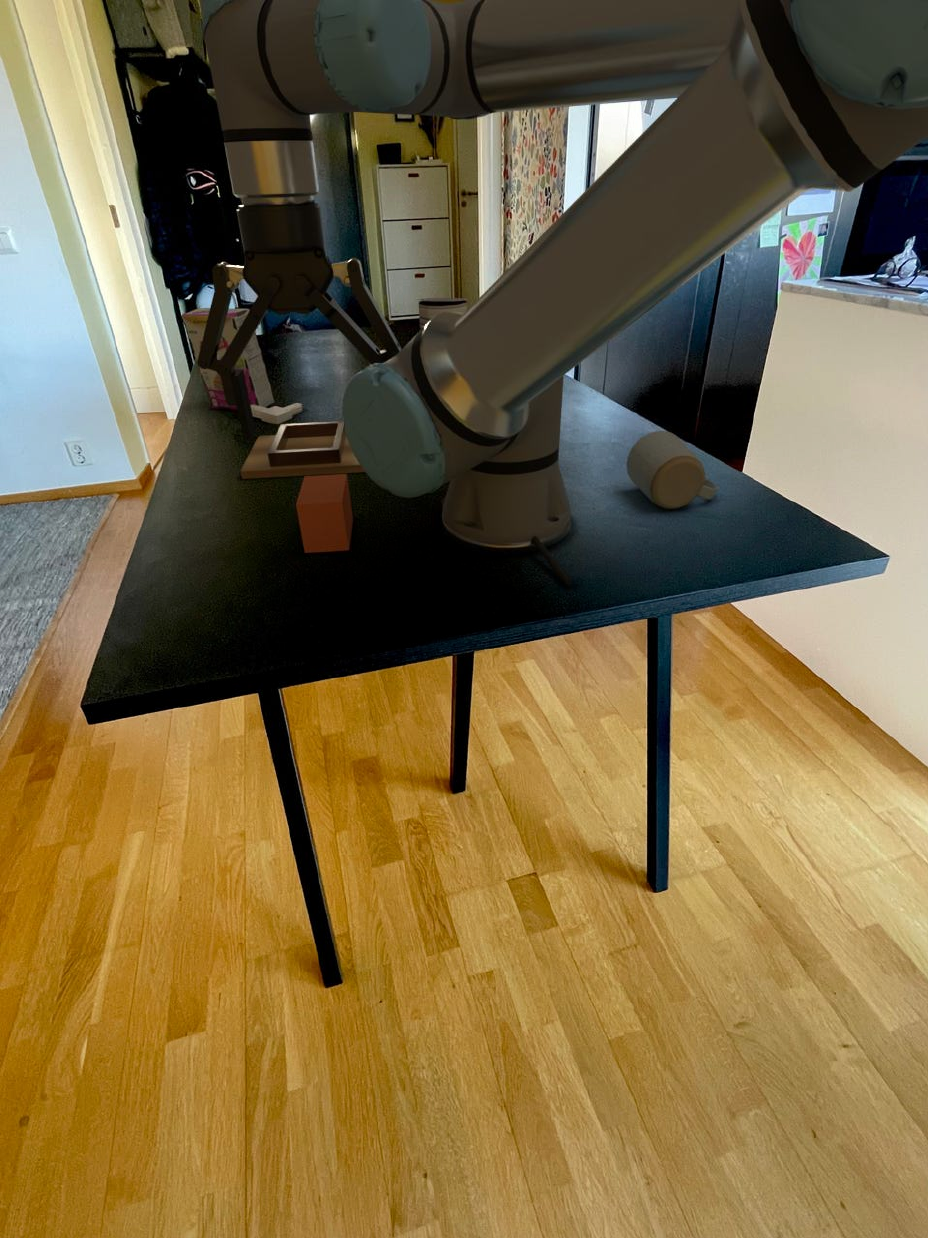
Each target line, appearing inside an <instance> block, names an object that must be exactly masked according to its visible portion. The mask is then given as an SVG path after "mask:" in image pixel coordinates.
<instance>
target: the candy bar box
mask: <svg viewBox="0 0 928 1238" xmlns="http://www.w3.org/2000/svg"><path fill="white" fill-rule="evenodd" d="M249 310H250V308H229V309H228V313H227V317H226V321H225V325H224V329H223V333H222V336H221V340H220V344H219V348H218V352H217V355H218V356H222V357H223V356H224V354H225V352H226V351H227V349H228V347H229V345H230V344H231V342H232V340H233V339H234V337H235V335H236V333H237V332H238V330H239V328H240V327H241V325H242V323H243V321H244V320H245V318H246V316H247V315H248V313H249ZM209 311H210V307H198V308H196V309H193V310H190V311H188V312H185V313H184V314H182V315H181V319H182V322H183V325H184V328H185V331H186V334H187V336H188V340H189V342H190V346H191V348H192V351H193V355H194V357H195V360H196V362H197V361H198V356H199V352H200V348H201V344H202V340H203V336H204V332H205V328H206V323H207V319H208V315H209ZM197 366H198V369H199V372H200V375H201V378H202V381H203V384H204V386H205V390H206V393H207V396H208V399H209V402H210V404H211V408H212V409H218V410H219V409H222V410H235V411H238V410H237V406H229V405H228V404H227V402H226V400H225V395H224V391H223V386H222V382H221V378H220V375H219V374H218V373H217V372H216V371H213V370H210V369H202V368H200V367H199V365H198V364H197ZM234 369H235V370H236V369H243V371H244V376H245V380H246V385H247V390H248V395H249V400H250V405H257V406H261V407H265V408H269V407H270V406H272V405H273V404H275V397H274V394H273V389H272V386H271V383H270V380H269V377H268V376H269V375H268V373H267V369H266V365H265V361H264V357H263V353H262V350H261V347H260V343H259V339H258V336H257V332H256V331H255V333H254V334H253V336H252V338H251V339H250V341H249V343H248V344H247V346H246V348H245V349H244V351H243V353H242V354H241V356H240V358H239V359H238V361H237V363H236V365H235V366H234Z"/></svg>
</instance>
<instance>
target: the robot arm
mask: <svg viewBox="0 0 928 1238" xmlns="http://www.w3.org/2000/svg"><path fill="white" fill-rule="evenodd" d="M199 7H200V15H201V23H202V25H201V28H202V30H201V36H202V40H203V41H204V44H205V47H206V53H207V59H208V64H209V69H210V74H211V79H212V85H213V89H214V94H215V100H216V105H217V110H218V114H219V115H218V116H219V121H220V126H221V131H222V135H223V136H222V137H223V139H224V149H225V154H226V155H225V156H226V160H227V167H228V171H229V178H230V183H231V189H232V194H233V195H234V196H235V197H236V198H239V199H240V201H241V204H240V205H238V206H237V207H238V209H236V214H237V221H238V225H239V231H240V236H241V237H240V238H241V243H242V247H243V254H244V264H243V265H233V264H229V262H226V261H221V262H219V263H217V264H215V265H214V266H213V267H212V270H211V271H212V272H211V273H212V281H213V282H212V283H213V295H212V299H211V303H210V307H209V308H210V311H209V315H208V319H207V323H206V328H205V332H204V336H203V340H202V344H201V348H200V352H199V356H198V361H197V360H196V363H197V366H198V365H199V366H198V368H199V367H200V368H202V369H210V370H213V371H216V372H217V373H218V374H219V375H220V378H221V382H222V386H223V391H224V395H225V400H226V402H227V404H228V405H229V406H237V410H236V411H237V414H238V420H239V424H240V428H241V434H242V437H243V440H252V438H253V436H254V434H255V433H256V426H255V420H254V416H253V415H252V410H251V405H250V400H249V395H248V390H247V385H246V380H245V376H244V371H243V369H236V370H235V369H234V366H235V365H236V363H237V361H238V359H239V358H240V356H241V354H242V353H243V351H244V349H245V348H246V346H247V344H248V343H249V341H250V339H251V338H252V336H253V334H254V333H255V332H256V331H257V329H258V328H259V326H260V324H261V323H262V321H263V319H264V318H265V316H266V315H267V313H268V312H269V311H271V312H273V313H274V314H277V316H282V315H283V316H285V315H289V314H292V313H296V314H300V315H310V314H311V313H313V312H314V311H316V310H318V311H319V313H321V314H322V315H323V317H325V318H326V319H328V320H329V322H331V324H332V325H333V326H335V328H336V329H338V331H339V332H340V334H342V335H343V336H344V338H346V339H347V340H348V341H349V343H351V345H352V346H353V347H354V348H355V349H356V350H357V351H358V352H359V353H360V354H361V355H362V357H364V359H365V360H366V361H367V362H369V363H367V364H366V366H365V368H364V369H362V370H360V371H358V372H357V373H355V374H354V375H353V376H352V377H351V378H350V380H349V382H348V383H347V385H346V387H345V390H344V393H343V397H342V406H341V407H342V408H341V409H342V410H341V414H342V418H343V421H344V422H345V432H346V436H347V439H348V442H349V444H350V447H351V449H352V451H353V453H354V455H355V457H356V459H357V461H358V462H359V464H360V465H361V467H362V468H363V470H364V471H365V472H364V473H366V475H367V476H368V477H369V478H370V479H371V481H373V482H374V483H375V484H376V485H377V486H378V487H380V488H381V489H383V490H384V491H389V492H390V494H392V495H394V496H396V497H400V498H406V499H412V498H418V497H420V496H423V495H425V494H431V493H434V492H436V491H437V490H438V489H440V488H441V487H442V486H443V485H445V484H447V483H448V482H449V485H448V487H447V488H448V489H447V492H446V495H445V496H444V497H443V498H442V499H441V509H442V513H441V522H442V530H443V532H444V534H445V535H446V537H447V538H448V539H450V540H451V541H452V542H454V543H456V544H457V545H459V546H461V547H464V548H466V549H469V550H473V551H477V552H481V553H488V554H496V555H497V554H499V555H512V554H515V555H516V554H525V553H531V552H536V551H539V552H540V554H541V555H542V556H543V558H544V559H545V561H546V562H547V563H548V564H549V566H550V568H551V569H552V570H553V571H554V572H555V574H556V575H557V576H558V578H559V579H560V580H561V581H562V582H563V583H564V584H565V585H566V586H570V585H572V584H573V579H572V578H571V577H570V576H569V575H568V574H567V573H566V572H565V571H564V570H563V569H562V567H561V566H560V565H559V563H558V562H557V560H556V559H555V558H554V557H553V555H552V554H551V552H550V551H549V550H548V549H547V548H549V547H551V546H553V545H555V544H557V543H559V542H560V541H562V540H563V539H564V538H565V537H566V536H567V535H568V534H569V532H570V529H571V520H572V514H571V505H570V501H569V497H568V493H567V490H566V486H565V483H564V480H563V475H562V473H561V469H560V468H561V467H560V464H559V457H560V456H559V455H560V443H561V441H560V440H561V424H562V409H563V393H564V392H563V391H564V377H565V375H566V374H567V373H569V372H570V371H571V370H573V369H574V368H576V367H577V366H578V365H579V364H581V363H582V362H583V361H584V360H586V359H587V358H589V357H590V356H591V355H592V354H593V353H595V352H596V351H598V350H599V349H600V348H601V347H603V346H604V345H606V344H607V343H608V342H610V341H612V339H614V338H615V337H616V336H617V335H619V334H620V333H621V332H623V331H624V330H626V329H627V328H628V327H630V326H631V325H632V324H633V323H635V322H636V321H638V320H639V319H640V318H642V317H643V316H644V315H645V314H646V313H649V311H651V310H652V309H653V308H654V307H655V306H658V304H660V303H661V302H662V301H664V300H665V299H667V298H668V297H669V296H670V295H671V294H673V293H674V292H676V291H677V290H679V288H681V287H682V286H683V285H685V284H686V283H688V282H689V281H690V280H691V279H692V278H695V276H696V275H698V274H699V273H700V272H702V271H703V270H704V269H706V268H707V267H708V266H710V265H711V264H712V263H714V262H715V261H716V260H717V259H719V258H720V257H721V256H723V255H724V254H725V253H727V252H728V251H729V250H730V249H732V248H733V247H734V246H736V245H737V244H738V243H740V242H741V241H743V240H744V239H745V238H747V237H748V236H749V235H750V234H752V233H753V232H755V230H757V229H758V228H759V227H761V226H762V225H764V224H765V223H766V222H767V221H769V220H770V219H772V218H773V217H774V216H776V215H777V214H778V213H780V211H782V210H783V209H785V208H786V207H787V206H789V205H790V204H791V203H793V202H794V201H795V200H797V198H799V197H800V196H801V195H803V194H804V193H806V192H809V191H814V190H825V191H835V192H844V193H851V192H853V191H854V190H856V189H858V188H859V187H861V186H862V185H863V184H864V183H866V182H867V181H868V180H870V179H871V178H873V177H874V176H875V175H877V174H878V173H880V172H881V171H882V170H884V169H885V168H887V166H889V165H891V164H892V163H893V162H894V161H896V160H897V159H899V158H900V157H902V156H903V155H904V154H906V153H907V152H908V151H910V150H911V149H913V148H914V147H916V146H917V145H919V144H920V143H921V142H923V141H924V140H925V139H927V138H928V0H462V1H455V2H440V1H435V0H199ZM669 99H675V100H674V101H672V103H671V104H670V105H669V106H668V107H667V108H666V109H665V110H664V111H663V112H662V113H661V114H660V115H659V116H658V117H657V118H656V119H655V120H654V121H653V122H652V123H651V124H650V125H649V126H648V127H647V128H646V129H645V130H644V131H643V132H642V133H641V134H640V135H639V136H638V137H637V138H636V139H635V140H634V141H633V142H632V143H631V144H630V145H629V146H628V147H627V148H626V149H625V150H624V151H623V152H622V153H621V154H620V156H618V157H617V158H616V159H615V160H614V161H613V162H612V163H611V164H610V165H609V167H607V169H605V171H603V173H601V175H599V176H598V178H596V180H594V182H592V183H591V185H590V186H589V187H588V188H586V190H584V192H582V194H580V195H579V197H577V199H576V200H574V202H573V203H572V204H571V205H570V206H569V207H568V208H567V209H566V210H564V212H563V213H562V214H560V216H559V217H558V218H557V219H556V220H555V221H554V222H553V223H552V224H551V225H550V226H549V227H548V228H546V230H545V231H544V232H543V233H542V234H541V235H539V237H538V238H537V239H536V240H535V241H534V242H533V243H532V244H531V245H530V246H529V247H528V248H527V249H526V250H525V251H524V252H523V253H522V254H521V255H520V256H519V258H517V259H516V260H515V261H514V262H513V263H512V264H511V265H510V266H509V267H508V268H507V269H506V270H505V271H504V272H503V273H502V274H501V275H500V277H499V278H497V279H496V281H494V282H493V284H491V285H490V287H488V288H487V289H486V290H485V291H484V293H482V295H481V296H480V297H479V298H477V300H476V301H475V302H474V303H472V304H471V306H470V307H469V308H467V311H466V312H465V313H464V314H463V313H460V312H452V311H449V312H443V313H440V314H438V315H436V316H435V317H433V318H432V319H431V320H430V321H429V322H428V323H427V324H426V325H425V326H424V327H423V328H422V329H421V330H420V329H419V331H418V332H417V333H416V334H415V335H414V336H413V337H412V338H411V340H409V341H408V342H407V343H406V345H405V346H404V347H403V348H402V347H401V345H400V344H399V341H398V340H397V338H396V336H395V334H394V333H393V331H392V329H391V327H390V326H389V324H388V321H387V320H386V318H385V316H384V314H383V312H382V311H381V309H380V307H379V306H378V304H377V302H376V300H375V298H374V297H373V295H372V293H371V291H370V289H369V287H368V286H367V284H366V281H365V277H364V276H365V275H364V271H363V266H362V262H361V260H360V259H359V258H358V257H352V258H350V259H349V260H346V261H340V262H334V263H332V261H331V260H330V258H329V256H328V251H327V245H326V236H325V228H324V219H323V212H322V210H323V209H322V207H321V206H320V204H319V203H318V202H315V201H316V200H315V199H314V196H317V195H318V194H319V193H320V187H319V179H318V178H319V177H318V170H317V163H316V156H315V155H316V154H315V147H314V141H313V140H314V137H313V136H314V135H313V131H312V122H311V121H312V120H311V116H314V115H319V114H320V115H321V114H322V115H323V114H324V115H325V114H342V113H364V114H365V113H367V114H381V115H382V114H383V115H384V114H385V115H403V116H404V115H405V116H418V115H419V116H421V115H422V116H430V117H441V118H449V119H451V120H474V119H478V118H482V117H486V116H488V115H491V114H496V113H506V112H519V111H521V112H522V111H531V110H543V109H556V108H558V109H559V108H569V107H570V108H571V107H582V106H594V105H607V104H619V103H630V102H631V103H633V102H644V101H645V102H646V101H657V100H669ZM334 277H337V278H339V279H340V280H341V283H342V284H343V285H344V286H345V287H350V288H351V291H352V293H353V296H354V297H355V299H356V301H357V303H358V304H359V307H360V309H362V311H363V313H364V315H365V317H366V319H367V321H368V322H369V324H370V326H371V328H372V330H373V331H374V333H375V335H376V336H377V338H378V340H379V341H380V343H381V345H382V347H383V348H384V349H382V350H381V349H380V348H379V347H378V346H377V345H376V344H375V343H374V342H373V341H372V340H371V338H369V336H368V335H367V334H366V333H365V332H364V331H363V329H361V327H359V325H358V324H357V323H356V322H355V321H354V320H353V319H352V318H351V317H350V315H348V314H347V313H346V312H345V310H344V309H343V308H342V307H341V306H340V305H339V303H338V301H336V299H335V298H334V297H333V296H332V295H331V294H330V293H329V291H328V289H329V287H330V285H331V283H332V281H333V280H334ZM242 280H244V282H245V283H246V284H247V285H248V287H249V288H250V289H251V290H252V291H253V293H255V294H256V296H257V297H256V298H255V300H254V302H253V304H252V305H251V307H250V308H249V313H248V315H247V316H246V318H245V320H244V321H243V323H242V325H241V327H240V328H239V330H238V332H237V333H236V335H235V337H234V339H233V340H232V342H231V344H230V345H229V347H228V349H227V351H226V352H225V354H224V356H223V357H222V356H218V355H217V352H218V348H219V344H220V340H221V336H222V333H223V329H224V325H225V321H226V317H227V313H228V309H230V306H231V301H232V297H233V291H235V290H237V289H238V288H239V286H240V283H241V281H242Z"/></svg>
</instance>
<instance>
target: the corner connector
mask: <svg viewBox="0 0 928 1238" xmlns="http://www.w3.org/2000/svg"><path fill="white" fill-rule="evenodd" d="M251 410H252V415H253V418H258V419H260V420H261V421H262V422H266V423H268V424H274V425H279V424H280V425H281V424H283V423H285V422H286V421H287V422H288V421H289V420H291V419H293V416H295V415H297V414H299V413H302V411H303V404H302V403H299V402H295V403H292V404H290V405H287V406H284V407H281V406H277V405H274V406H271V407H267V408H265V407H261V406H257V405H251Z"/></svg>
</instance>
